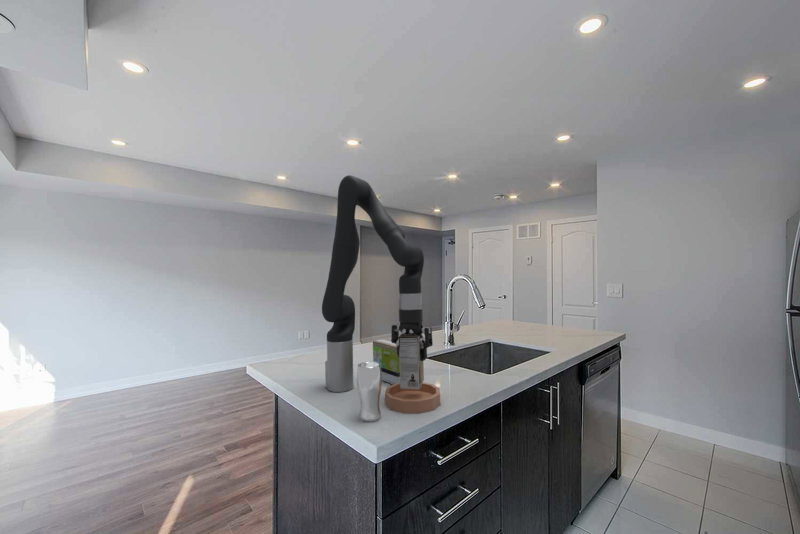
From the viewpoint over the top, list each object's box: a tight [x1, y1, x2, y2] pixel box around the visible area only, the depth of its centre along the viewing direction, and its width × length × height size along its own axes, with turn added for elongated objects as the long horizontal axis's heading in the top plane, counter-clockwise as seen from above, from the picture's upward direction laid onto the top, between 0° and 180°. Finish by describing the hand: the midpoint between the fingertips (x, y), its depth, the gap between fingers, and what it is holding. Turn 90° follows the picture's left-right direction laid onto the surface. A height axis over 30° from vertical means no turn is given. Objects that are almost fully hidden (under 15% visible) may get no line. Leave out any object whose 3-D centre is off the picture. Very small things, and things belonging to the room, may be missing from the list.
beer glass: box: [356, 360, 383, 423], centre depth 95 cm, size 7×7×15 cm
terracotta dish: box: [384, 381, 441, 414], centre depth 105 cm, size 17×17×4 cm
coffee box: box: [399, 332, 425, 389], centre depth 106 cm, size 9×6×16 cm
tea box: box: [372, 336, 400, 385], centre depth 128 cm, size 15×10×15 cm
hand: (411, 358), depth 106 cm, fingers closed on coffee box, 8 cm apart
